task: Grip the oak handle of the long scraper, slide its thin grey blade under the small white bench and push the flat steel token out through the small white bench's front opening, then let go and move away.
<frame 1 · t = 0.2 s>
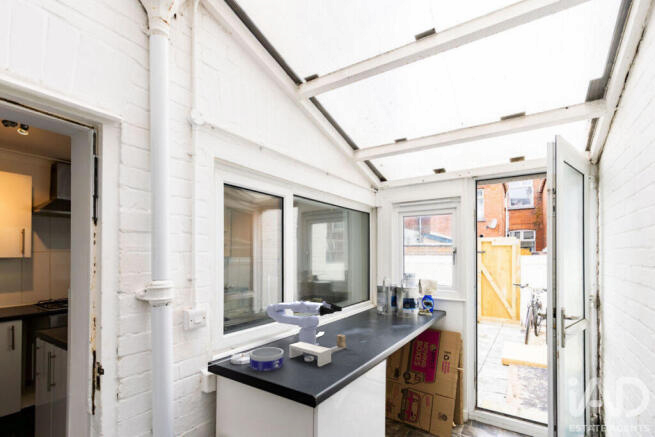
hand: (337, 310, 170), 21 cm above the worktop, tool horizontal, fingers open, 7 cm apart
small white bench: (309, 359, 156), on the worktop
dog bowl: (266, 365, 148), on the worktop
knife: (316, 336, 203), on the worktop
scraper: (341, 347, 175), on the worktop
token: (309, 360, 155), on the worktop
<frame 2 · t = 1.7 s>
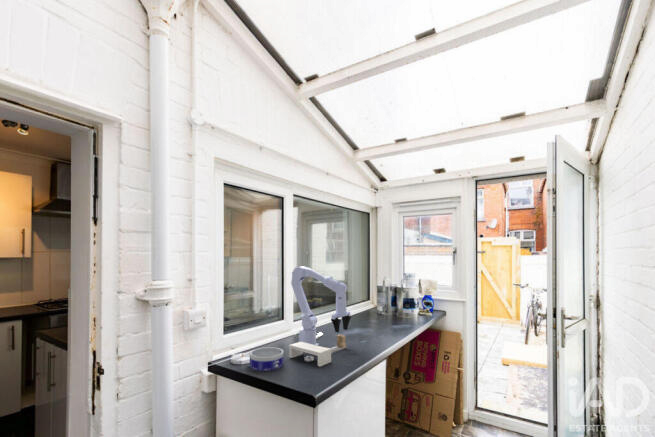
hand: (341, 330, 176), 9 cm above the worktop, tool pointing down, fingers open, 7 cm apart
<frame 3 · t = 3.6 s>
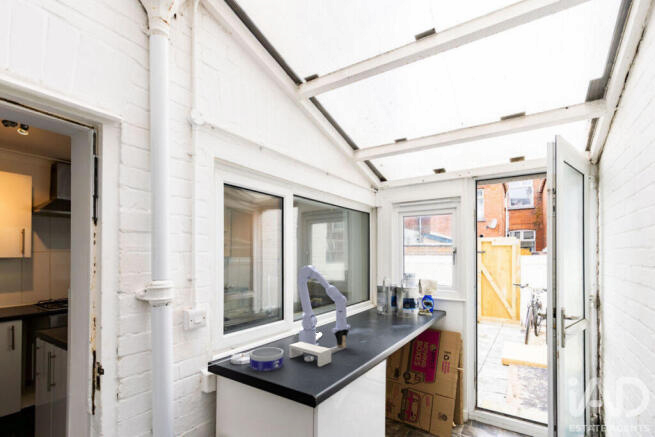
hand: (341, 344, 175), 2 cm above the worktop, tool pointing down, fingers closed on scraper, 2 cm apart
scraper: (341, 347, 175), on the worktop, touching gripper
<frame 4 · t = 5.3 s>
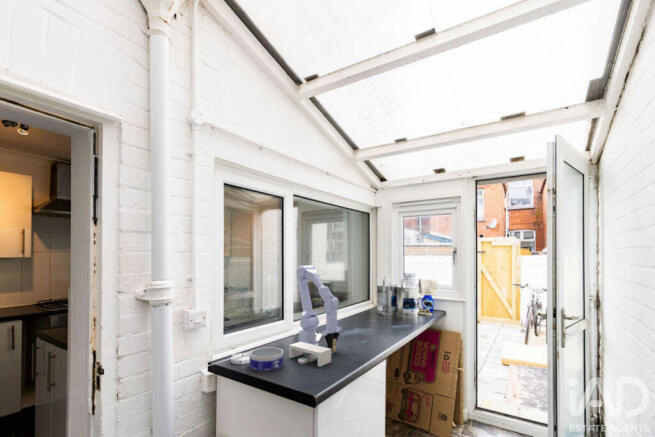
hand: (331, 347, 169), 2 cm above the worktop, tool pointing down, fingers closed on scraper, 2 cm apart
scraper: (331, 351, 169), on the worktop, touching gripper, token
token: (302, 362, 152), on the worktop, touching scraper
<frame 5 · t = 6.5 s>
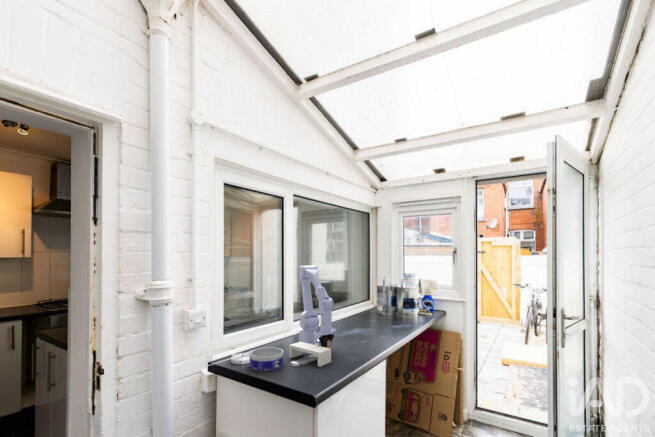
hand: (326, 349, 165), 2 cm above the worktop, tool pointing down, fingers closed on scraper, 2 cm apart
scraper: (326, 353, 165), on the worktop, touching gripper
token: (295, 365, 148), on the worktop
when the fingers open (2 cm above the worktop, at t = 7.4 s): scraper stays where it is, on the worktop.
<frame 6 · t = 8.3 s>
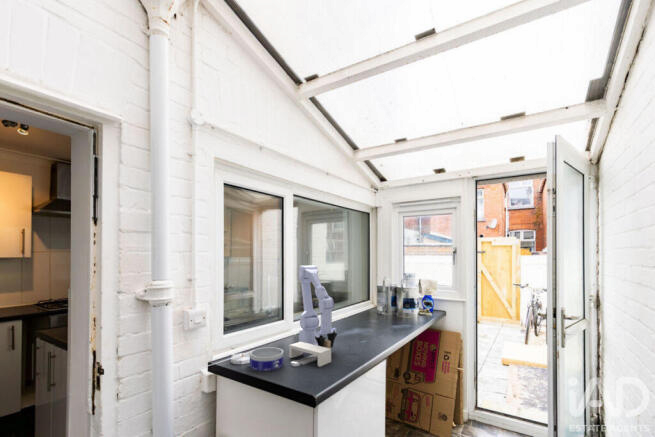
hand: (326, 348, 165), 2 cm above the worktop, tool pointing down, fingers open, 7 cm apart
scraper: (326, 353, 165), on the worktop
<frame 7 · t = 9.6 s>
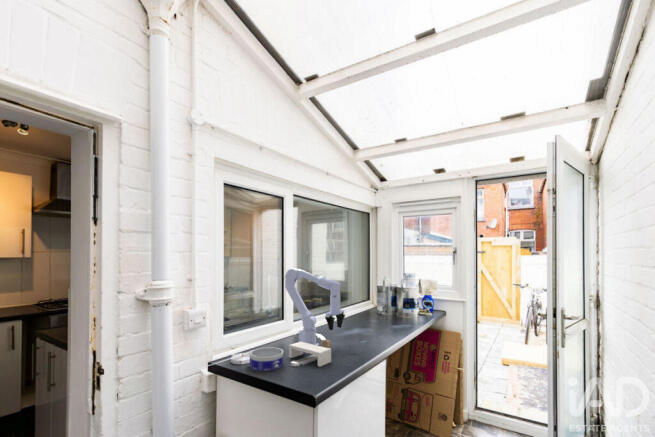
hand: (335, 328, 179), 9 cm above the worktop, tool pointing down, fingers open, 7 cm apart
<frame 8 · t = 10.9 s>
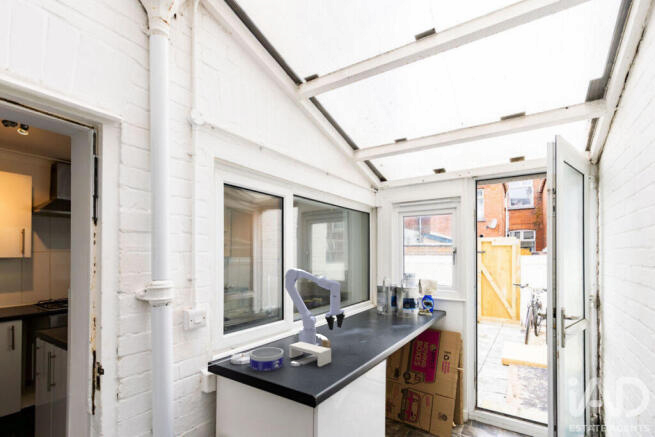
hand: (335, 328, 179), 9 cm above the worktop, tool pointing down, fingers open, 7 cm apart
at the end: token inside the target area (1.5 cm from its centre), on the worktop; scraper moved 13.0 cm from its start; the gripper is holding nothing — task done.
